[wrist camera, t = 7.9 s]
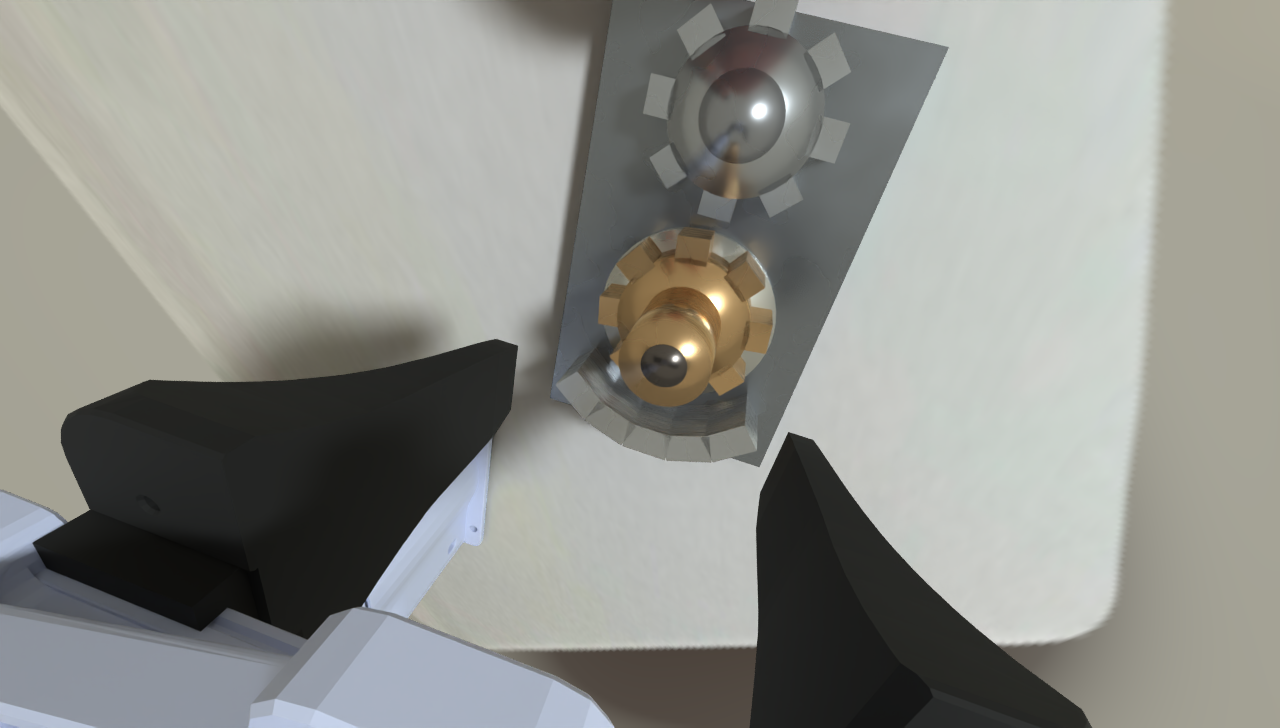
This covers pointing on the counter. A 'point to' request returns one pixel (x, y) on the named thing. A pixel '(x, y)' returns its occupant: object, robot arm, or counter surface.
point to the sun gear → (747, 109)
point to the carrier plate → (782, 244)
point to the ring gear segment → (657, 416)
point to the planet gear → (685, 319)
